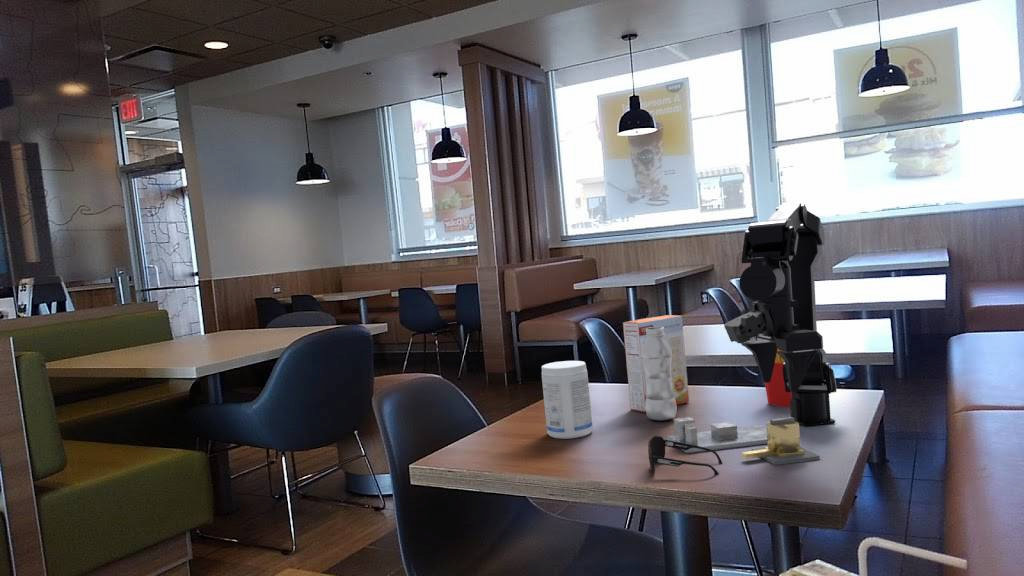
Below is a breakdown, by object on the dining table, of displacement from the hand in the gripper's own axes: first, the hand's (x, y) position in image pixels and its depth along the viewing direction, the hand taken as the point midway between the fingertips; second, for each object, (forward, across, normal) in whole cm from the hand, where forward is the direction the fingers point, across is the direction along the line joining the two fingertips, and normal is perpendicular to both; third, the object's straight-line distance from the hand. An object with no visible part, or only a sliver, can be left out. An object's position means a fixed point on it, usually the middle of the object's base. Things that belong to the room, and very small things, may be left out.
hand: (780, 386), depth 121 cm
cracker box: (+12, -47, -6) cm, 49 cm away
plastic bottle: (+12, -34, -10) cm, 37 cm away
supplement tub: (+12, -31, -31) cm, 45 cm away
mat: (+12, 0, 0) cm, 12 cm away
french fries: (+12, -36, +19) cm, 42 cm away
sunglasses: (+12, 0, -18) cm, 22 cm away
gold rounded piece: (+11, 0, -2) cm, 12 cm away
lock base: (+12, -13, -5) cm, 18 cm away
